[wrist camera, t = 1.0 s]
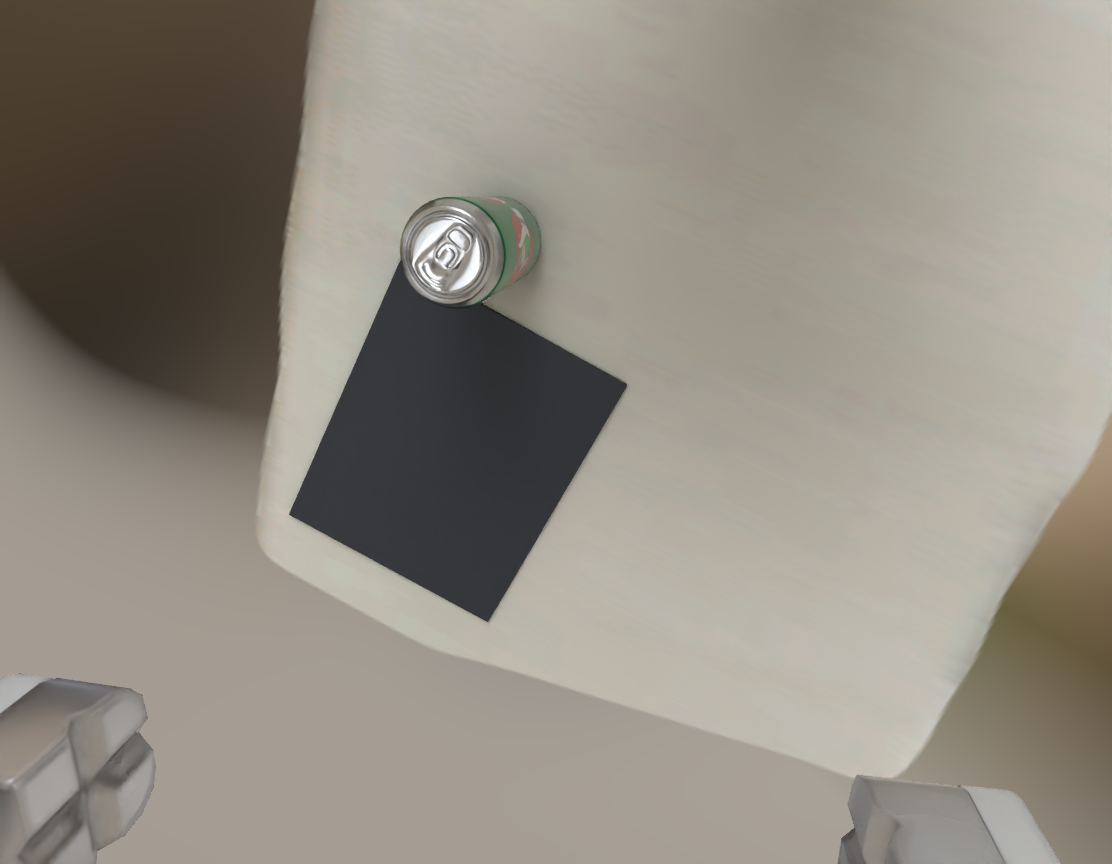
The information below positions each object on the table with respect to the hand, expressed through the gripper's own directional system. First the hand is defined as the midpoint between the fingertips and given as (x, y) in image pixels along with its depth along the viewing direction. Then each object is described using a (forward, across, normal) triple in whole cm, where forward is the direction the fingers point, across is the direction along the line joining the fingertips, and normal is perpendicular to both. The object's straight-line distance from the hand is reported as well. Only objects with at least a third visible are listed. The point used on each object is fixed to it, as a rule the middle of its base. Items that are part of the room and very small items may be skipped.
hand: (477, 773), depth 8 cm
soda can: (+38, +8, -4) cm, 39 cm away
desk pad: (+38, +11, +10) cm, 41 cm away
